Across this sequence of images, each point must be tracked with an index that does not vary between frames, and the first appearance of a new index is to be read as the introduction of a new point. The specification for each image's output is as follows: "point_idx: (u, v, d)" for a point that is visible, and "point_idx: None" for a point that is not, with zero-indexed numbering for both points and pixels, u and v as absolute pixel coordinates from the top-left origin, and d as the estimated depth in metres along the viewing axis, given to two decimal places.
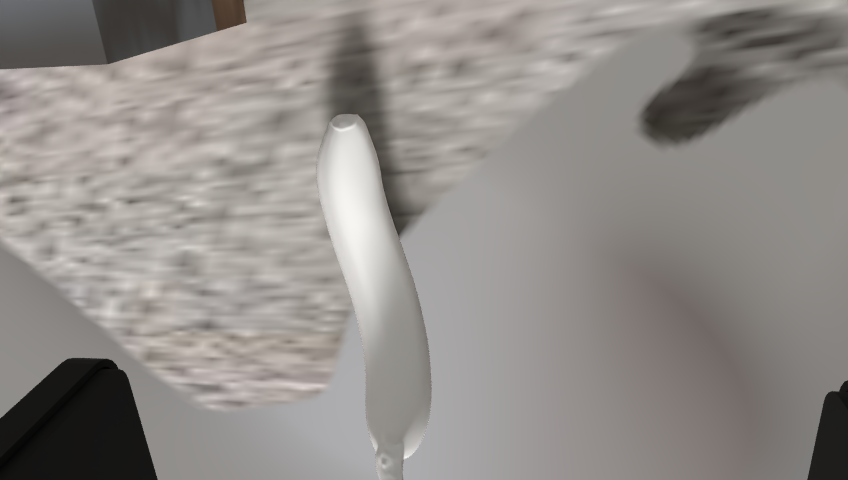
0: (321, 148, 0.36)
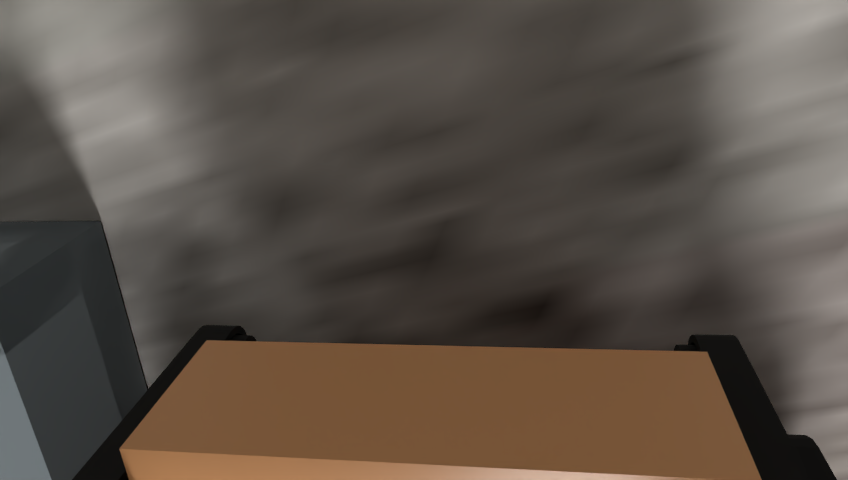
0: None
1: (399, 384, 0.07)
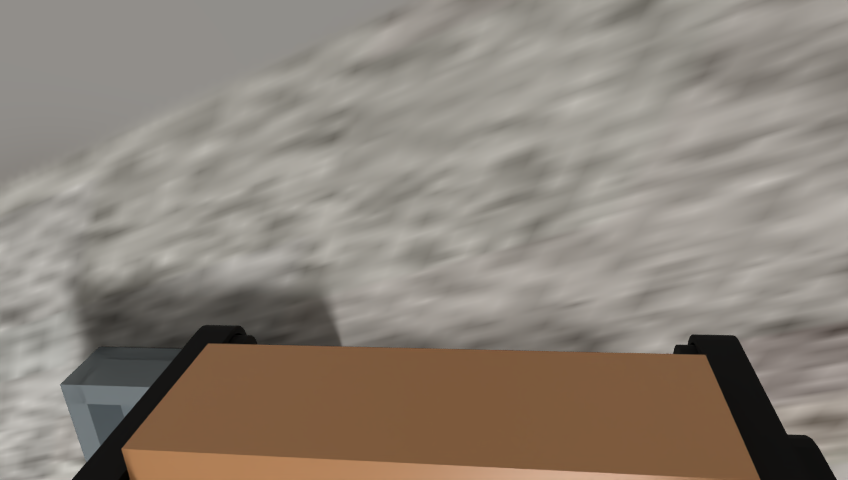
0: None
1: (400, 386, 0.07)
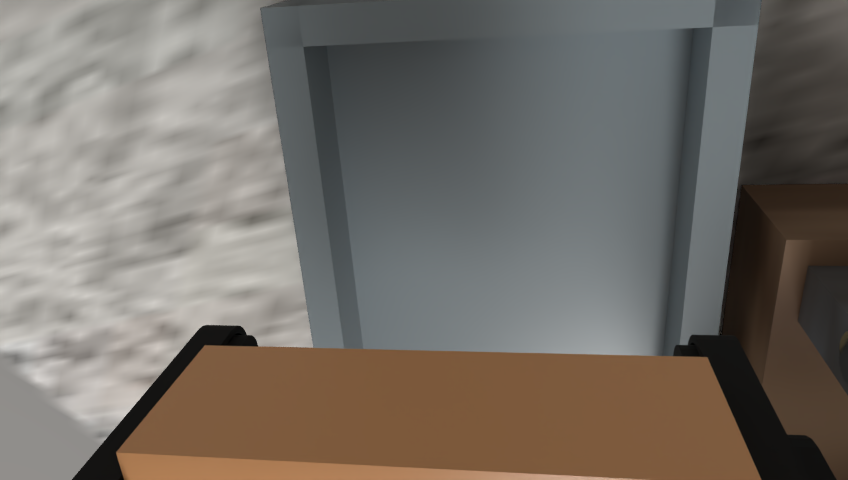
0: None
1: (398, 389, 0.07)
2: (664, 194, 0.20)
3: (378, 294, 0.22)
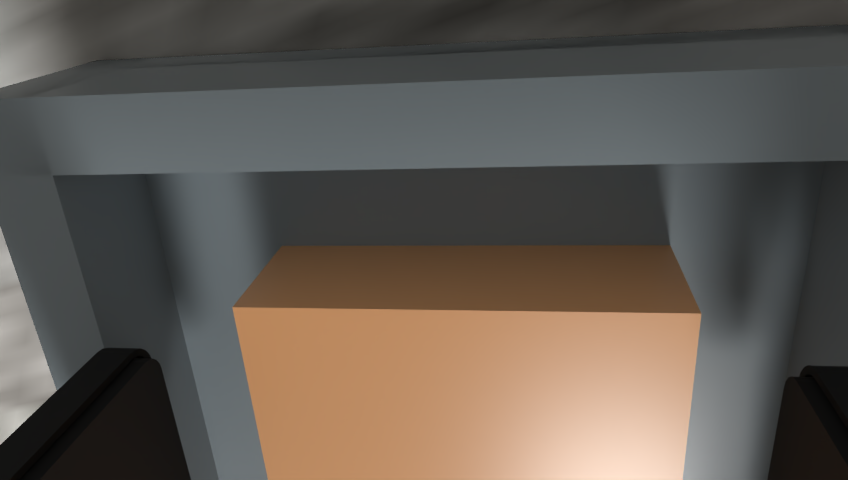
0: None
1: (436, 268, 0.10)
2: (754, 415, 0.11)
3: None
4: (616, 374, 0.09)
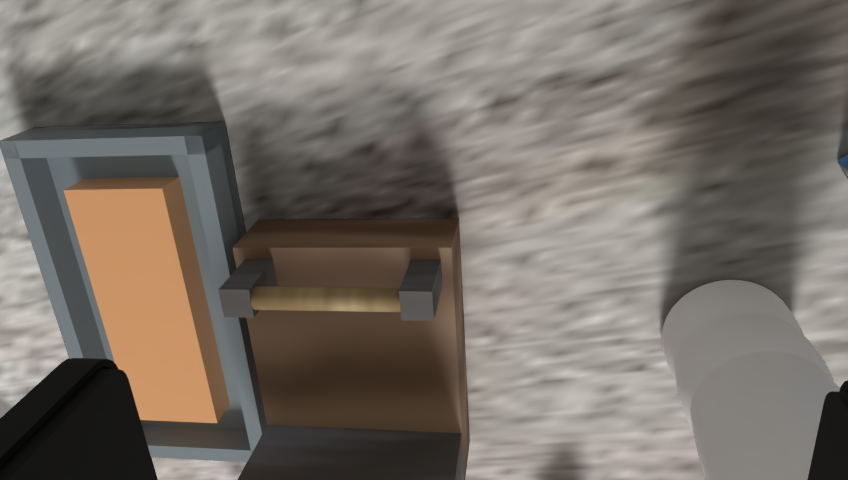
0: None
1: (117, 182, 0.39)
2: None
3: None
4: (150, 204, 0.37)
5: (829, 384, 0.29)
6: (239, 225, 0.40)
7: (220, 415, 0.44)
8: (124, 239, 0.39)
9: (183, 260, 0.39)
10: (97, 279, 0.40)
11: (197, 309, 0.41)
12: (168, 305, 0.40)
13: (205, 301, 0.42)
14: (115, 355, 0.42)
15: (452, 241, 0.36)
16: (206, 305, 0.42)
